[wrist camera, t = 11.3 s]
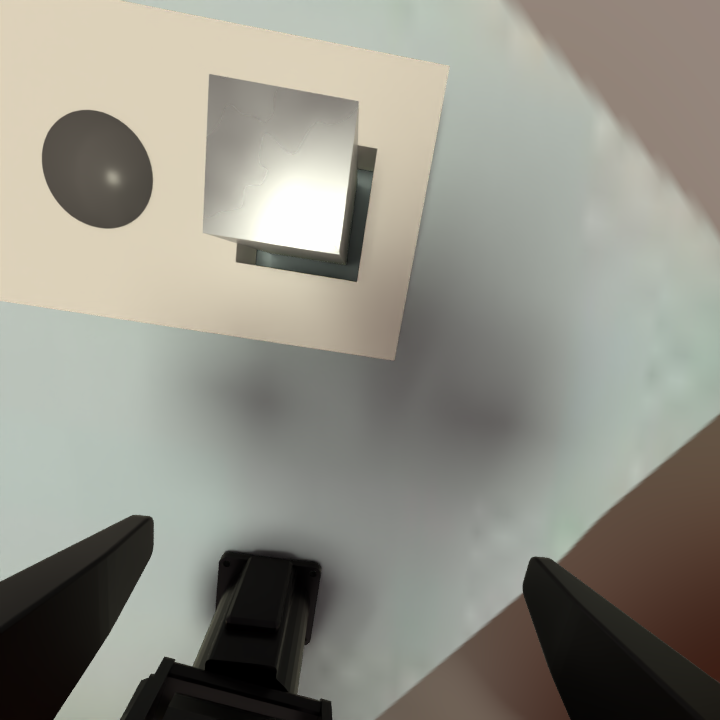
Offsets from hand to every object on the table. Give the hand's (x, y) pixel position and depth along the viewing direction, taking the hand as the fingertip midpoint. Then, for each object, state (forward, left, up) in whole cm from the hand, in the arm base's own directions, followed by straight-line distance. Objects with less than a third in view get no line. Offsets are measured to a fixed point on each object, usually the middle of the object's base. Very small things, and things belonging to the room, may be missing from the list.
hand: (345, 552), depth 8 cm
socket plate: (+9, +7, -12) cm, 16 cm away
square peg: (+9, +3, -12) cm, 15 cm away
